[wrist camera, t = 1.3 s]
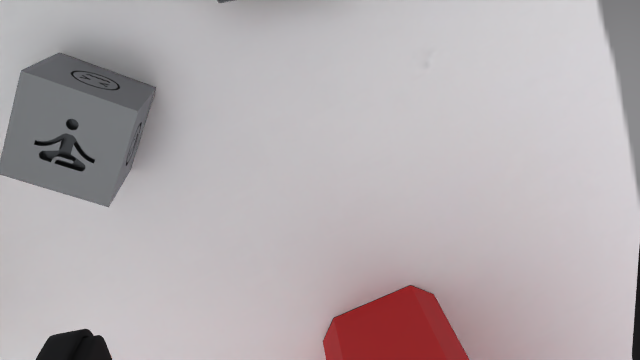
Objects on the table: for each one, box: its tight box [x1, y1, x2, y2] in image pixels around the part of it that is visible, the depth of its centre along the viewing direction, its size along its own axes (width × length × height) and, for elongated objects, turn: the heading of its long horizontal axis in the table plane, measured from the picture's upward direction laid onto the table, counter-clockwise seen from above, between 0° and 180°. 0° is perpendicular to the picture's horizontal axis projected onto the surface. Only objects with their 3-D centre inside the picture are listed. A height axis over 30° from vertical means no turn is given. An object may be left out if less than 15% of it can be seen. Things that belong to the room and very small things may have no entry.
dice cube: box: [0, 53, 156, 207], centre depth 27 cm, size 5×5×5 cm
